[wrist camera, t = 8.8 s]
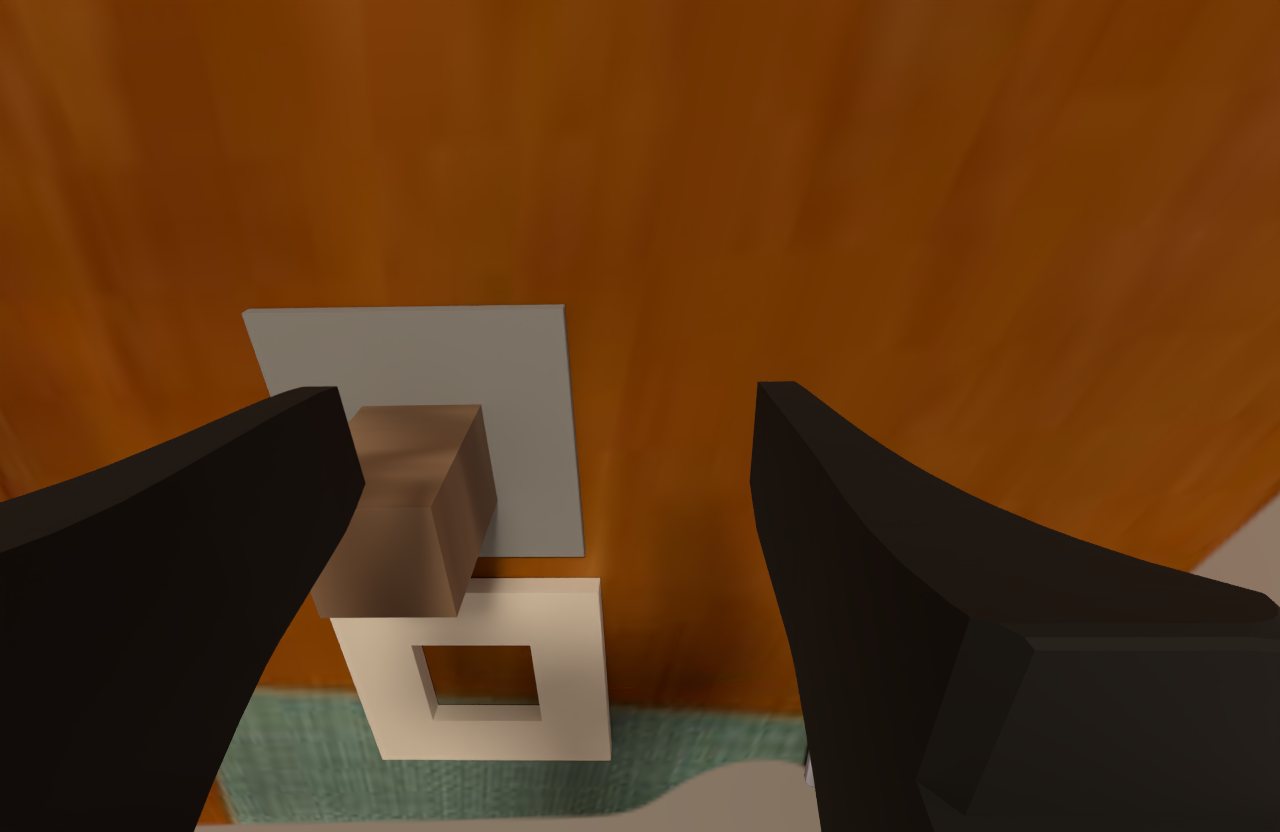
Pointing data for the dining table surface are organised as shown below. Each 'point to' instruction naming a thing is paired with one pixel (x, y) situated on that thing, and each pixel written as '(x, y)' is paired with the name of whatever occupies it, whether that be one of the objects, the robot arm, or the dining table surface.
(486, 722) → the pocket plate
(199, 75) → the dining table surface
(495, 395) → the mat
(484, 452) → the block
